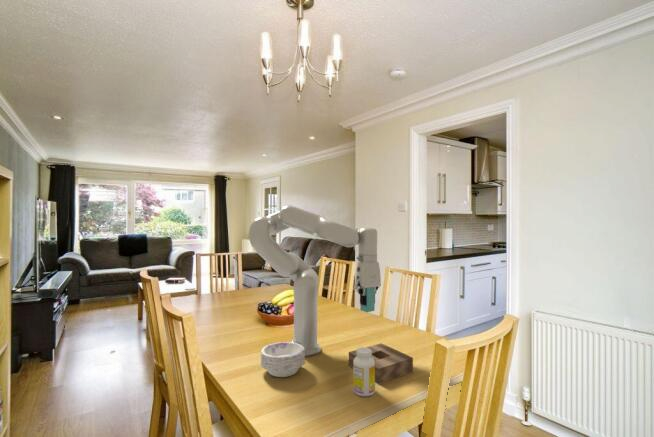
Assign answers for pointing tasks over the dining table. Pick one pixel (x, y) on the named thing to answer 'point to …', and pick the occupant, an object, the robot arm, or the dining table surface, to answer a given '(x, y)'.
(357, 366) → the supplement bottle
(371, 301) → the peg
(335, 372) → the dining table surface
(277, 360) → the paper bowls
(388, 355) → the socket block
